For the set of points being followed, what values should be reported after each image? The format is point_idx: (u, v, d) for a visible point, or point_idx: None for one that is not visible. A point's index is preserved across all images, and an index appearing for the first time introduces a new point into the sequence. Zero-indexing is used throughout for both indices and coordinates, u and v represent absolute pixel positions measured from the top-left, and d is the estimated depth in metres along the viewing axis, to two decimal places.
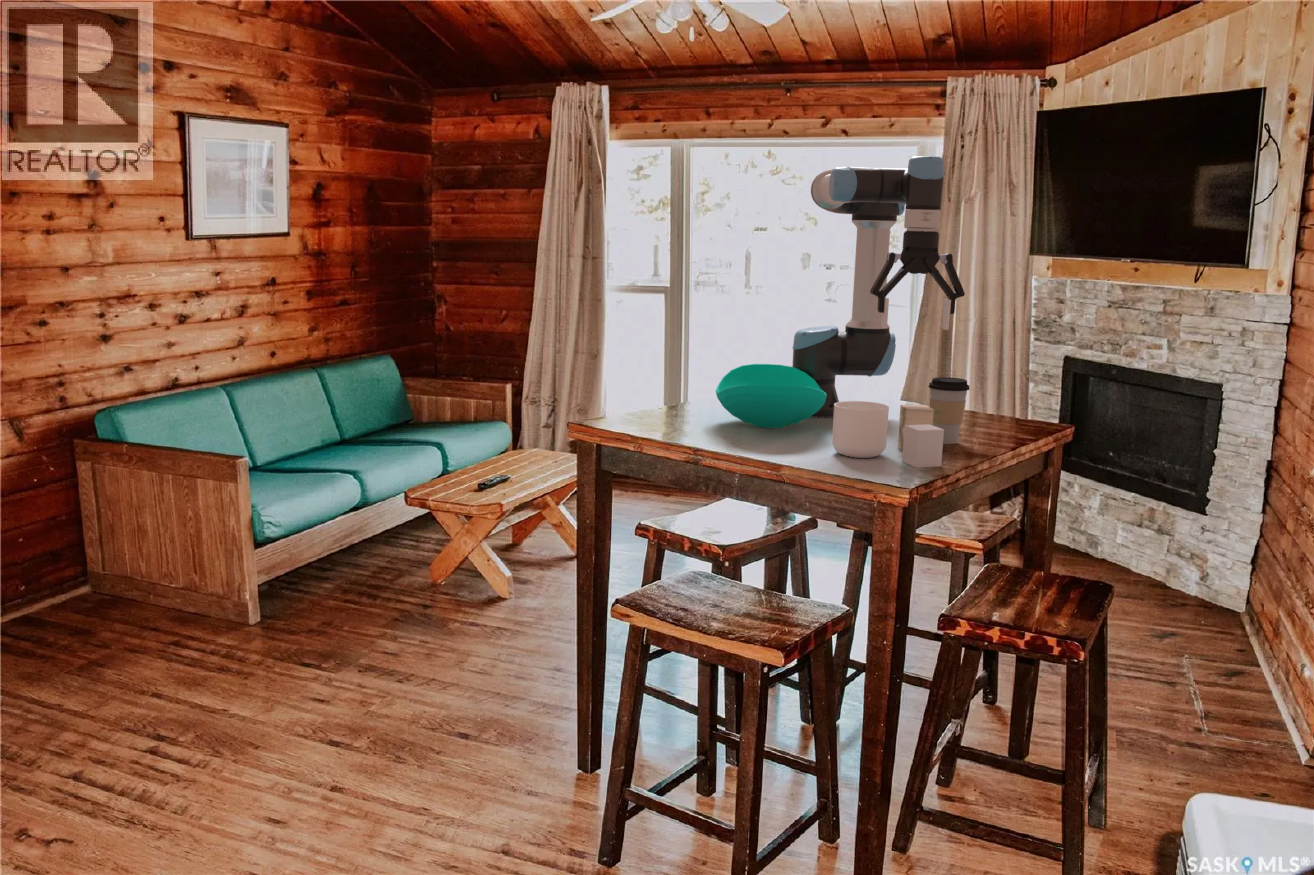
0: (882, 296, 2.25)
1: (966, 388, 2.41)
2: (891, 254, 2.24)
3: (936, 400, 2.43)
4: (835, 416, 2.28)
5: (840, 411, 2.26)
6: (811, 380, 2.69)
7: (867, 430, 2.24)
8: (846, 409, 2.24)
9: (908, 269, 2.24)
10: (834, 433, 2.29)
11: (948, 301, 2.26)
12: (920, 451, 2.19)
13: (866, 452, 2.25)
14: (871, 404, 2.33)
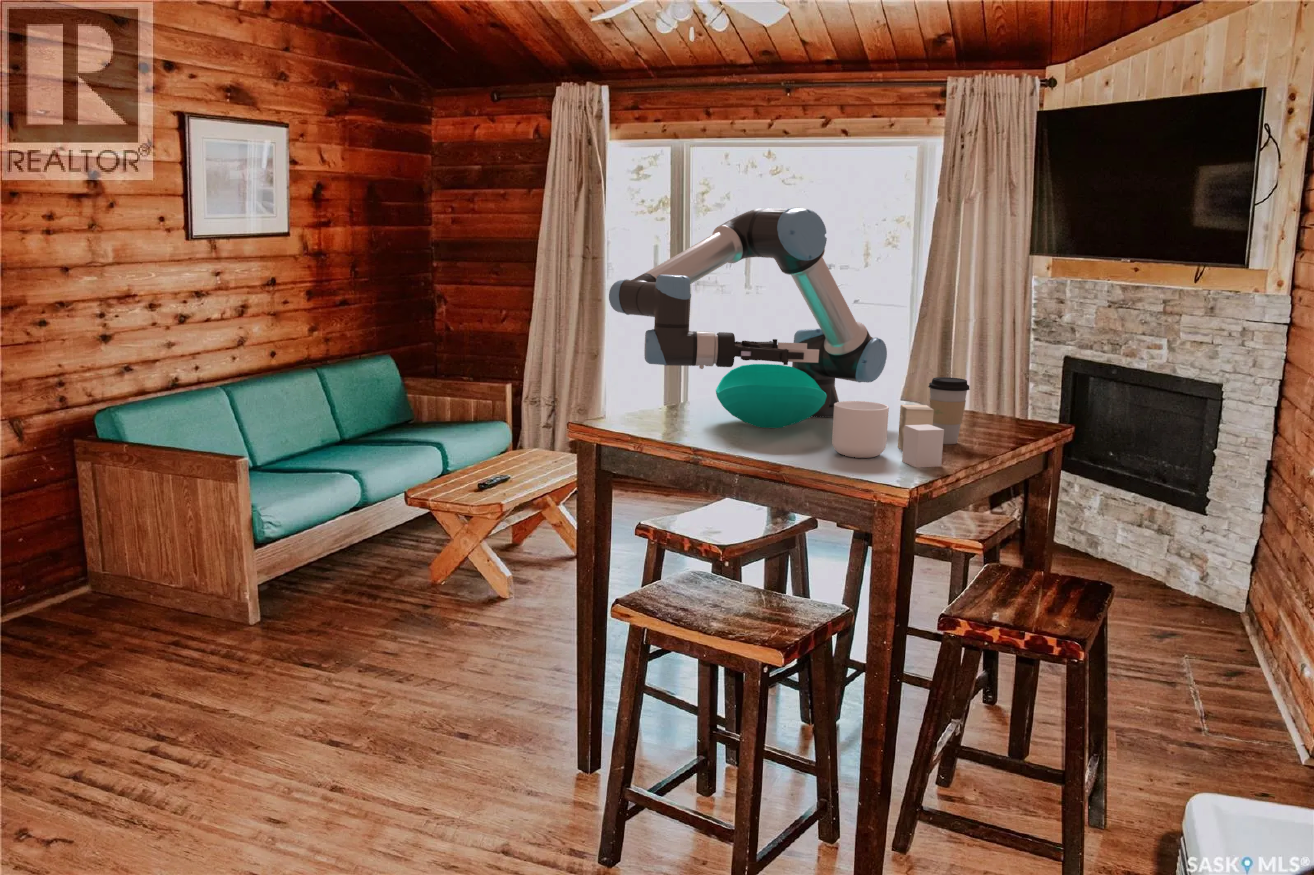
0: None
1: (966, 388, 2.41)
2: None
3: (936, 400, 2.43)
4: (835, 416, 2.28)
5: (840, 411, 2.26)
6: (811, 380, 2.69)
7: (867, 430, 2.24)
8: (846, 409, 2.24)
9: None
10: (834, 433, 2.29)
11: None
12: (920, 451, 2.19)
13: (865, 452, 2.25)
14: (871, 404, 2.33)
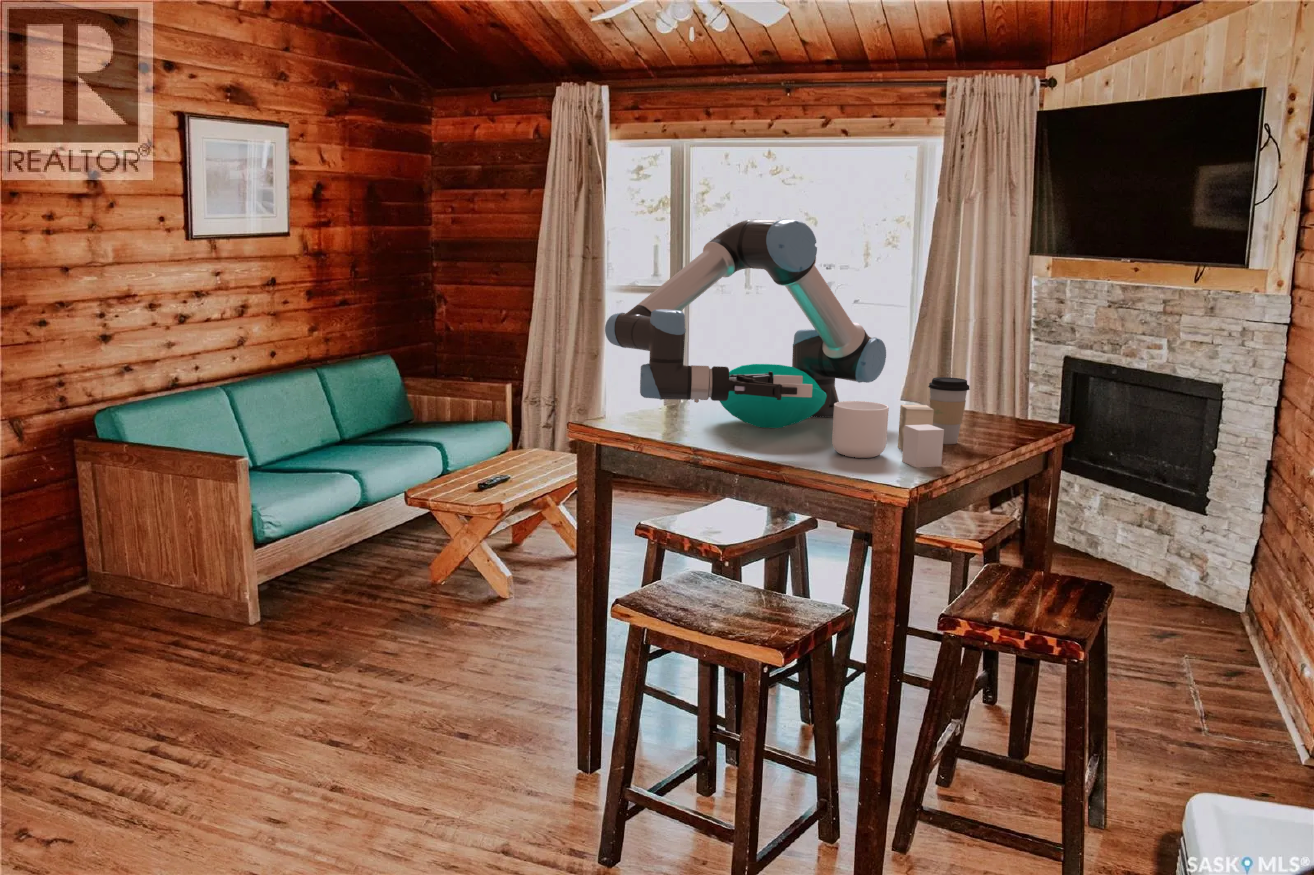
0: None
1: (966, 388, 2.41)
2: None
3: (936, 400, 2.43)
4: (835, 416, 2.28)
5: (840, 411, 2.26)
6: (811, 380, 2.69)
7: (867, 430, 2.24)
8: (846, 409, 2.24)
9: None
10: (834, 433, 2.29)
11: None
12: (920, 451, 2.19)
13: (865, 452, 2.25)
14: (871, 404, 2.33)
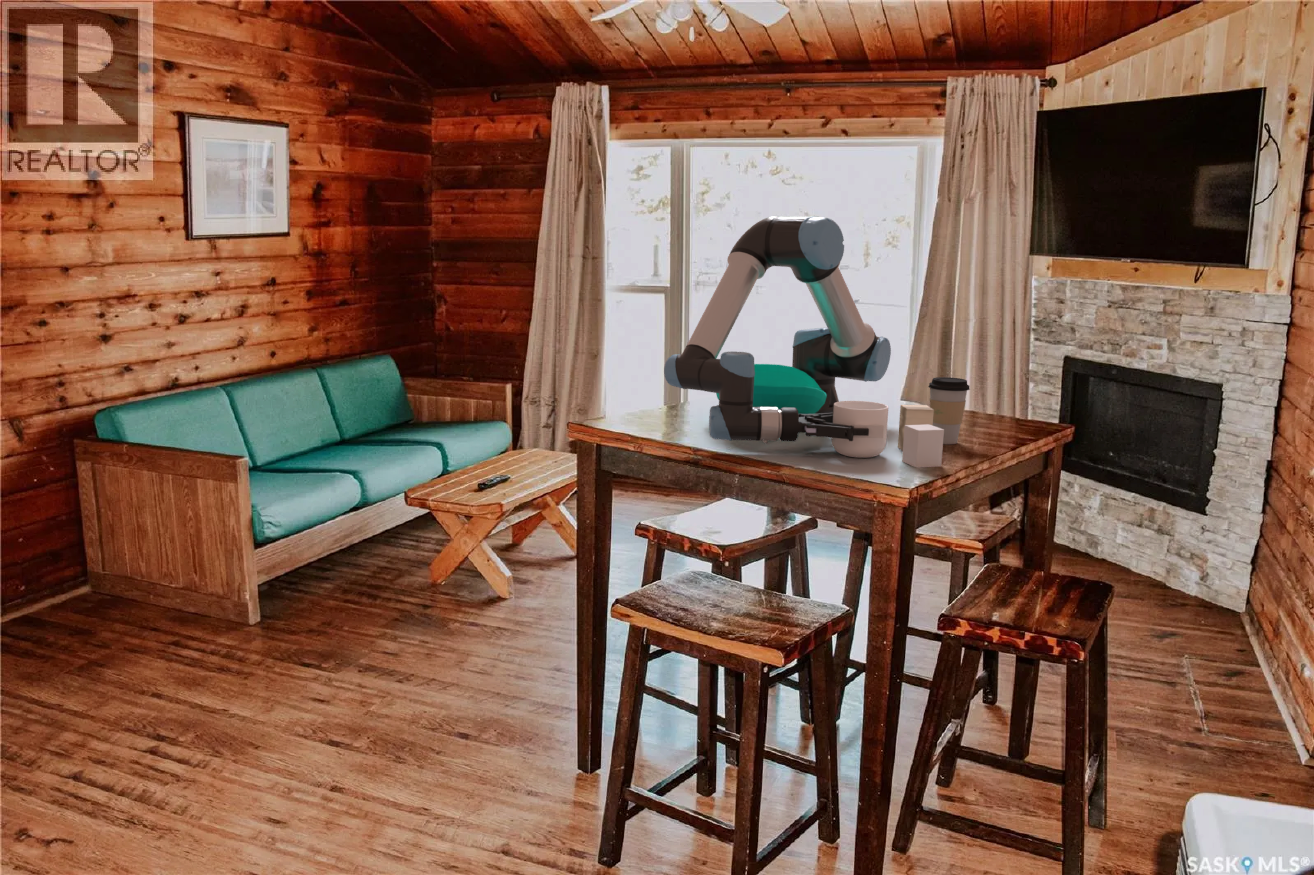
0: None
1: (966, 388, 2.41)
2: None
3: (936, 400, 2.43)
4: (835, 416, 2.28)
5: (840, 411, 2.26)
6: (811, 380, 2.69)
7: None
8: (846, 409, 2.24)
9: None
10: None
11: None
12: (920, 451, 2.19)
13: (865, 452, 2.25)
14: (871, 404, 2.33)
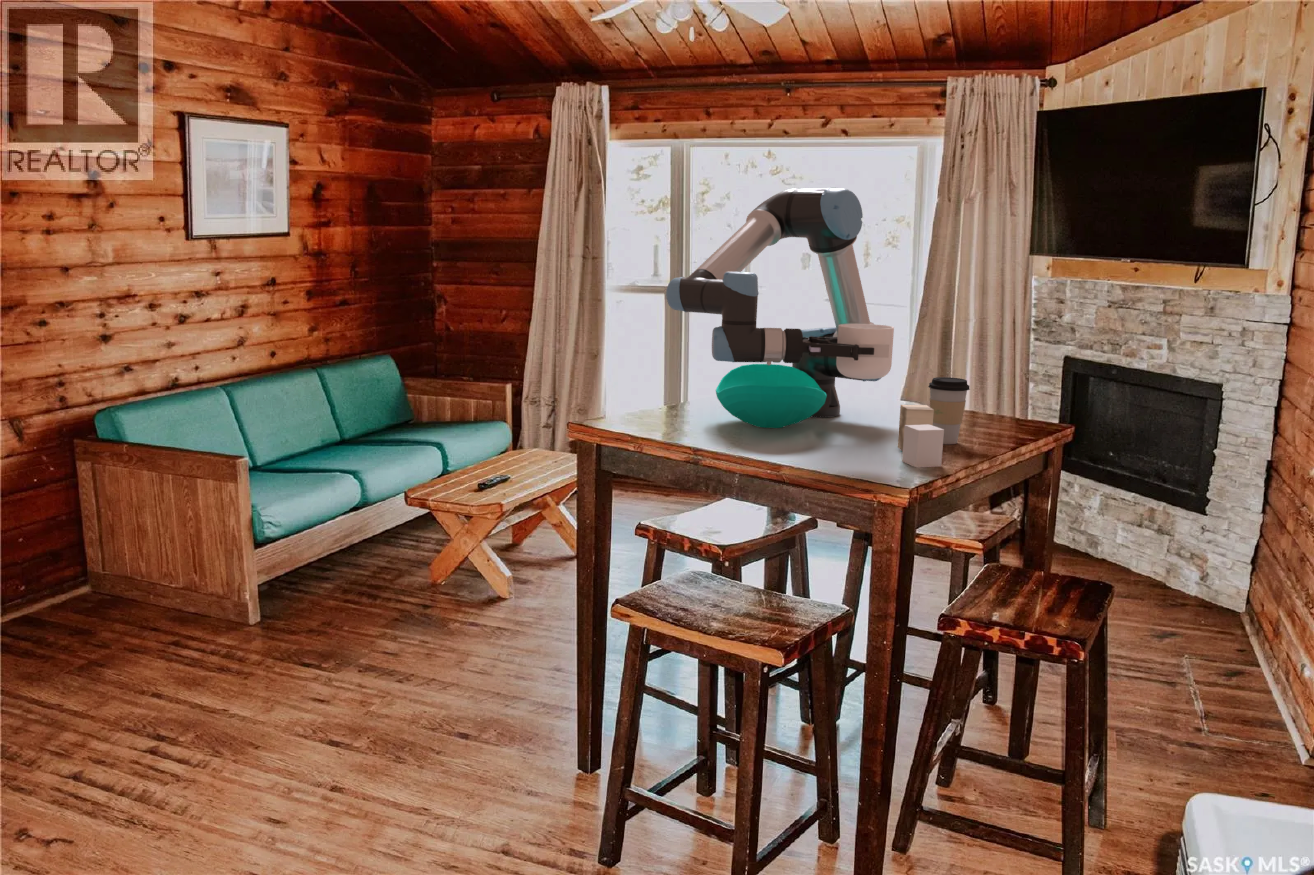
0: None
1: (966, 388, 2.41)
2: None
3: (936, 400, 2.43)
4: (839, 337, 2.24)
5: (844, 331, 2.22)
6: (811, 380, 2.69)
7: None
8: (851, 328, 2.21)
9: None
10: None
11: None
12: (920, 451, 2.19)
13: (870, 372, 2.21)
14: (876, 326, 2.30)
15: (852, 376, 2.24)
